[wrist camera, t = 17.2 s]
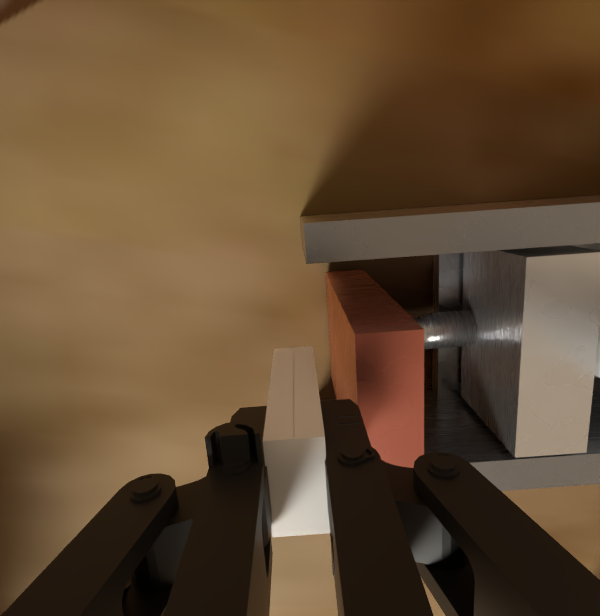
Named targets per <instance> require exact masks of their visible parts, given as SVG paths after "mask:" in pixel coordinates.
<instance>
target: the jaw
mask: <svg viewBox="0 0 600 616" xmlns="http://www.w3.org/2000/svg"><path fill="white" fill-rule="evenodd" d="M326 290H327V308H328V326H329V344H330V362H331V378H332V382H333V387H334V391H335V395H336V400H341V399H351V400H352V401H353V402H354V403H356V404H357V405H358V406H359V409H360V412H361V416H362V418H363V421H364V425H365V428H366V431H367V434H368V437H369V440H370V443H371V447H373V448H374V449H376V450H377V452H378V453H379V455H380V457H381V460H383V461H385V462H387V463H390V464H392V465H397V466H402V467H409V468H413V467H414V461H415V460H416V459H417V458H418V457H419V456H421V455H424V349H435V348H449V347H462V353H461V396H462V397H463V398H464V400H465V401H466V402H467V403H468V404H469V405H470V406H471V408H472V409H473V410H474V411H475V412H476V413H477V415H478V416H479V417H480V418H481V419H482V420H483V422H484V423H485V424H486V425H487V426H488V427H489V428H490V430H491V431H492V432H493V433H494V434H495V435H496V437H497V438H498V439H499V440H500V441H501V442H502V443H503V445H504V446H505V447H506V448H507V449H508V450H509V452H510V453H511V454H512V455H513V456H514V457H515V458H518V457H532V456H546V455H560V454H574V453H586V452H587V442H588V433H589V423H590V413H591V404H592V394H593V385H594V375H595V365H596V356H597V346H598V336H599V327H600V250H594V249H588V248H582V247H576V246H570V245H564V246H550V247H536V248H522V249H508V250H494V251H480V252H466V253H464V267H463V310H462V311H449V312H435V313H421V314H408V313H407V312H406V311H405V310H404V309H403V308H402V307H401V306H400V305H399V304H398V303H397V302H396V301H395V300H394V299H393V298H392V297H391V296H390V295H388V294H387V293H386V292H385V291H384V290H383V289H382V288H381V287H380V286H379V285H378V284H377V283H376V282H375V281H374V280H373V279H372V278H371V277H370V276H369V275H368V274H367V273H366V272H365V271H364V270H349V271H335V272H326Z"/></svg>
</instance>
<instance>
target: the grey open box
mask: <svg viewBox="0 0 600 616" xmlns="http://www.w3.org/2000/svg"><path fill="white" fill-rule="evenodd" d="M300 223H301V238H302V247H303V251H304V256H305V260H306V264H311V263H325V262H339V261H353V260H368V259H382V258H396V257H410V256H424V255H433V313H435V312H449V311H462V310H463V267H464V253H466V252H480V251H494V250H508V249H522V248H536V247H550V246H564V245H570V246H576V247H582V248H588V249H594V250H600V195H592V196H578V197H564V198H549V199H535V200H521V201H507V202H493V203H479V204H465V205H451V206H437V207H423V208H409V209H395V210H381V211H366V212H352V213H338V214H324V215H310V216H300ZM461 353H462V347H449V348H435V349H433V355H432V391H431V392H424V454H426V453H431V452H446V453H451V454H454V455H456V456H459V457H461V458H463V459H464V460H466V461H468V462H469V463H470V464H471V465H472V466H473V467H475V468H476V469H477V470H478V471H479V472H480V473H481V474H482V475H483V476H485V477H486V478H487V479H488V480H489V481H490V482H491V483H492V484H493V485H495V486H496V487H497V488H498V489H499V490H500V491H507V490H521V489H535V488H549V487H563V486H577V485H590V484H600V378H599V377H597V378H595V377H594V385H593V394H592V404H591V413H590V423H589V433H588V442H587V452H586V453H574V454H560V455H546V456H532V457H518V458H515V457H514V456H513V455H512V454H511V453H510V452H509V450H508V449H507V448H506V447H505V446H504V445H503V443H502V442H501V441H500V440H499V439H498V438H497V437H496V435H495V434H494V433H493V432H492V431H491V430H490V428H489V427H488V426H487V425H486V424H485V423H484V422H483V420H482V419H481V418H480V417H479V416H478V415H477V413H476V412H475V411H474V410H473V409H472V408H471V406H470V405H469V404H468V403H467V402H466V401H465V400H464V398H463V397H462V396H461ZM327 400H336V398H333V399H320V401H327Z"/></svg>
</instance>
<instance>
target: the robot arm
mask: <svg viewBox="0 0 600 616" xmlns="http://www.w3.org/2000/svg"><path fill="white" fill-rule="evenodd" d="M205 442H206V449H207V457H208V464H209V470H208V473H207V476H206V477H204V478H202V479H200V480H198V481H195V482H192V483H189V484H186V485H182V486H178V487H176V486H175V480H174V479H173V478H172V477H170V476H169V475H165V474H148V475H144V476H141V477H138V478H136V479H134V480H132V481H130V482H128V483H127V484H126V485H125V486H123V487H122V488H121V489H120V490H119V491H118V492H117V493H116V494H115V495H114V496H113V497H112V498H111V500H110V501H109V502H108V503H107V504H106V505H105V506H104V507H103V508H102V509H101V510H100V511H99V512H98V513H97V514H96V515H95V516H94V518H93V519H92V520H91V521H90V522H89V523H88V524H87V525H86V526H85V527H84V528H83V529H82V530H81V531H80V532H79V533H78V535H77V536H76V537H75V538H74V539H73V540H72V541H71V542H70V543H69V544H68V545H67V546H66V547H65V548H64V549H63V550H62V552H61V553H60V554H59V555H58V556H57V557H56V558H55V559H54V560H53V561H52V562H51V563H50V564H49V565H48V566H47V567H46V569H45V570H44V571H43V572H42V573H41V574H40V575H39V576H38V577H37V578H36V579H35V580H34V581H33V582H32V583H31V584H30V586H29V587H28V588H27V589H26V590H25V591H24V592H23V593H22V594H21V595H20V596H19V597H18V598H17V599H16V600H15V601H14V603H13V604H12V605H11V606H10V607H9V608H8V609H7V610H6V611H5V612H4V613H3V614H2V615H1V616H269V607H270V589H271V571H272V544H271V528H272V537H283V536H297V535H311V534H325V533H330V536H331V552H332V567H333V575H334V579H335V588H336V598H337V607H338V616H433V613H432V610H431V607H430V604H429V601H428V598H427V595H426V592H425V589H424V586H423V583H422V580H421V578H422V579H423V581H424V582H425V584H426V585H427V587H428V588H429V590H430V592H431V593H432V595H433V596H434V598H435V599H436V601H437V603H438V604H439V606H440V607H441V609H442V610H443V612H444V614H445V615H446V616H600V580H599V579H598V578H597V577H596V576H594V575H593V574H592V573H591V572H590V571H589V570H588V569H587V568H586V567H584V566H583V565H582V564H581V563H580V562H579V561H578V560H577V559H576V558H574V557H573V556H572V555H571V554H570V553H569V552H568V551H567V550H566V549H564V548H563V547H562V546H561V545H560V544H559V543H558V542H557V541H556V540H554V539H553V538H552V537H551V536H550V535H549V534H548V533H547V532H546V531H544V530H543V529H542V528H541V527H540V526H539V525H538V524H537V523H536V522H535V521H533V520H532V519H531V518H530V517H529V516H528V515H527V514H526V513H525V512H523V511H522V510H521V509H520V508H519V507H518V506H517V505H516V504H515V503H513V502H512V501H511V500H510V499H509V498H508V497H507V496H506V495H505V494H503V493H502V492H501V491H500V490H499V489H498V488H497V487H496V486H495V485H493V484H492V483H491V482H490V481H489V480H488V479H487V478H486V477H485V476H483V475H482V474H481V473H480V472H479V471H478V470H477V469H476V468H475V467H473V466H472V465H471V464H470V463H469V462H468V461H466V460H464V459H463V458H461V457H459V456H456V455H454V454H451V453H446V452H431V453H426V454H424V455H421V456H419V457H418V458H417V459H416V460H415V461H414V467H413V468H409V467H402V466H397V465H392V464H390V463H387V462H385V461H383V460H381V457H380V455H379V453H378V452H377V450H376V449H374V448H373V447H371V443H370V440H369V437H368V434H367V431H366V428H365V425H364V421H363V418H362V416H361V412H360V409H359V406H358V405H357V404H356V403H354V402H353V401H352V400H351V399H341V400H327V401H320V396H319V389H318V381H317V374H316V367H315V359H314V352H313V346H304V347H290V348H276V349H274V354H273V362H272V370H271V378H270V386H269V394H268V402H267V406H260V407H246V408H240V409H239V410H238V411H237V412H236V413H235V414H234V415H233V416H232V418H231V421H230V423H225V424H223V425H220V426H217V427H215V428H214V429H212V430H211V431H209V432H208V434H207V435H206V437H205ZM420 576H421V577H420Z"/></svg>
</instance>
